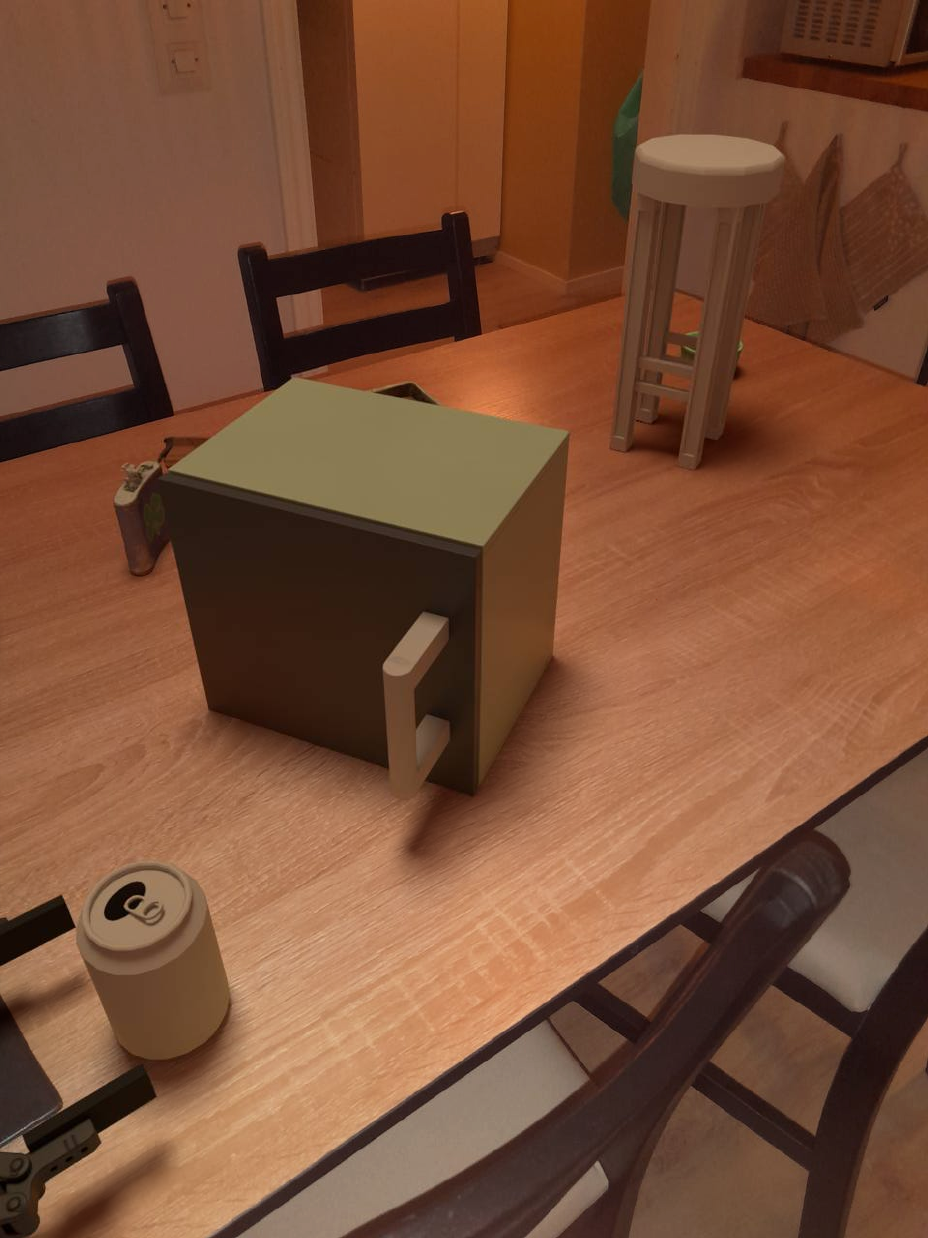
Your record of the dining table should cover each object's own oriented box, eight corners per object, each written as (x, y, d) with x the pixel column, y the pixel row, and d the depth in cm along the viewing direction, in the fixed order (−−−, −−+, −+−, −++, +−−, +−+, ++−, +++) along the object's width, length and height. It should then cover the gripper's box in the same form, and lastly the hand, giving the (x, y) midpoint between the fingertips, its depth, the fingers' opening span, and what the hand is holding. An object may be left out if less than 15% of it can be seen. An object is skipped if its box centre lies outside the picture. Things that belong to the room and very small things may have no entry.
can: (166, 944, 67) (129, 831, 60) (254, 987, 65) (228, 876, 57) (89, 1036, 62) (39, 926, 55) (182, 1088, 59) (143, 979, 52)
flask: (149, 578, 102) (127, 489, 95) (122, 576, 102) (98, 487, 95) (179, 530, 109) (161, 445, 102) (154, 528, 109) (134, 443, 103)
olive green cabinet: (479, 787, 79) (483, 545, 64) (216, 701, 87) (167, 469, 72) (552, 656, 92) (570, 430, 77) (318, 591, 100) (293, 376, 85)
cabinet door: (436, 861, 73) (431, 617, 58) (158, 761, 81) (93, 525, 66) (478, 788, 79) (482, 549, 64) (214, 701, 86) (165, 472, 72)
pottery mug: (142, 507, 114) (139, 436, 112) (201, 506, 122) (200, 440, 121) (216, 509, 107) (214, 433, 106) (274, 508, 116) (273, 438, 114)
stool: (704, 481, 118) (760, 173, 96) (588, 450, 124) (615, 154, 102) (742, 430, 128) (800, 142, 107) (633, 404, 134) (667, 127, 113)
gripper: (-297, 1060, 58) (55, 887, 68) (-245, 1506, 43) (203, 1197, 53) (-362, 992, 54) (26, 817, 64) (-331, 1464, 38) (179, 1134, 48)
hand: (107, 988), depth 58 cm, fingers open, 13 cm apart
